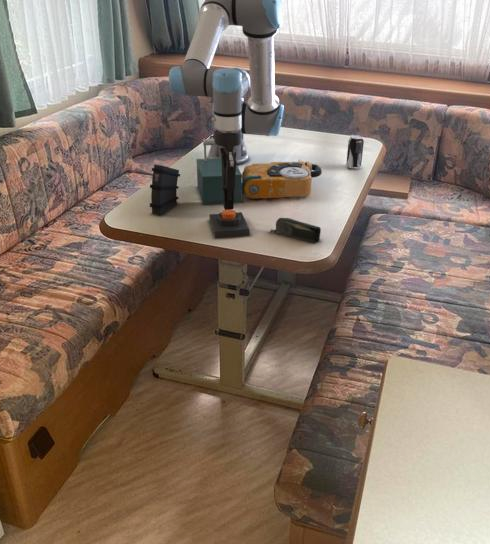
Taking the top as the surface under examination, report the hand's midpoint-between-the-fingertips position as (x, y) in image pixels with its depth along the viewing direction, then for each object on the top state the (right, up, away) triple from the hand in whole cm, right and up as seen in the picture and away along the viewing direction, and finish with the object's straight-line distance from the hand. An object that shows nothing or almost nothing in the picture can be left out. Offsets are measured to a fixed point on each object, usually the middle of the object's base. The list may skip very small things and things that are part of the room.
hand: (228, 208), depth 169 cm
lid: (-5, +15, +21) cm, 26 cm away
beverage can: (+43, +22, +53) cm, 72 cm away
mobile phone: (+19, -9, 0) cm, 21 cm away
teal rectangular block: (-6, +7, +25) cm, 27 cm away
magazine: (-21, +2, +14) cm, 26 cm away
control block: (0, -6, +3) cm, 6 cm away
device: (+16, +10, +32) cm, 37 cm away
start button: (0, -2, +1) cm, 3 cm away
